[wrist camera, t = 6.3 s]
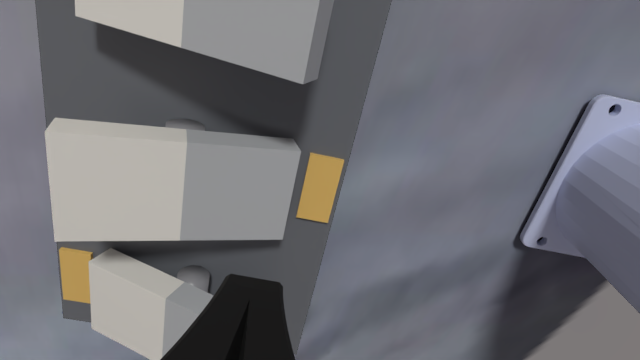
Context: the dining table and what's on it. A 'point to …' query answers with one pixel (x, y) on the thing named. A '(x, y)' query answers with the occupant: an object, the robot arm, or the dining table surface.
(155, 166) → the rocker
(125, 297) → the rocker
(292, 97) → the switch unit
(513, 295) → the dining table surface
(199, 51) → the rocker
